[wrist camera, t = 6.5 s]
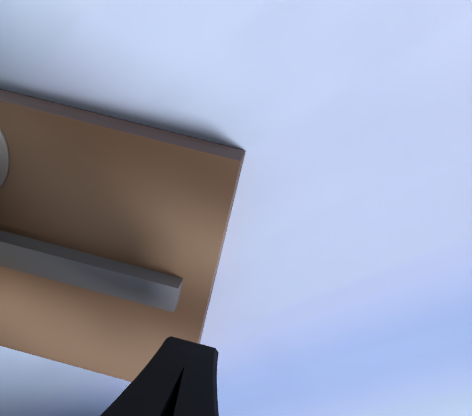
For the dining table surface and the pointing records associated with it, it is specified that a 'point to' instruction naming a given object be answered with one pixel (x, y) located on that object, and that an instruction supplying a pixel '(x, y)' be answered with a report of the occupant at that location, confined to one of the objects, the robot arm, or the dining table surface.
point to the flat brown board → (106, 234)
